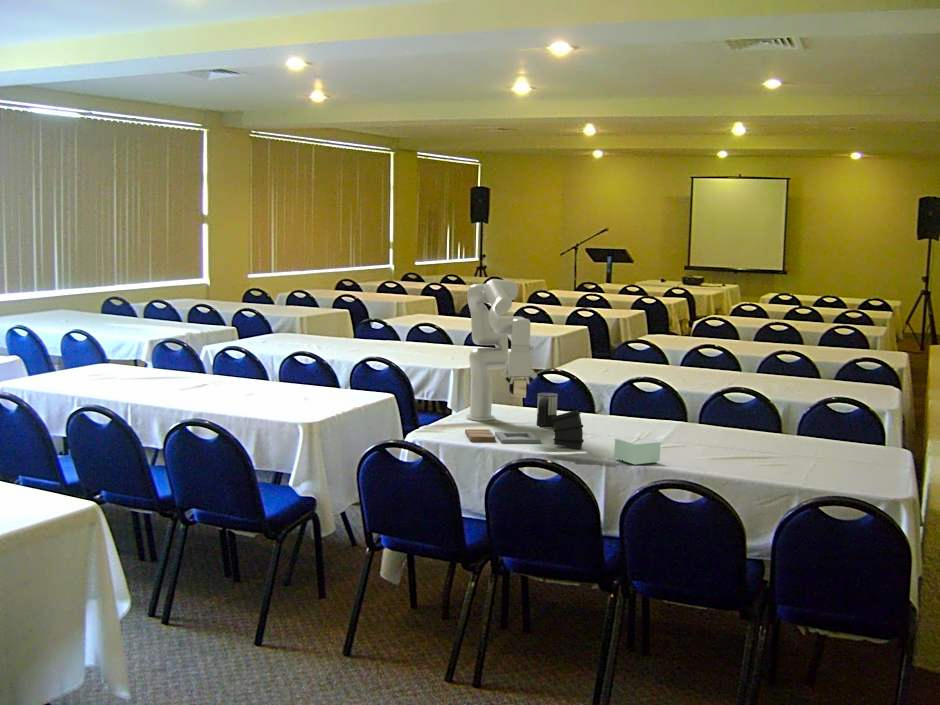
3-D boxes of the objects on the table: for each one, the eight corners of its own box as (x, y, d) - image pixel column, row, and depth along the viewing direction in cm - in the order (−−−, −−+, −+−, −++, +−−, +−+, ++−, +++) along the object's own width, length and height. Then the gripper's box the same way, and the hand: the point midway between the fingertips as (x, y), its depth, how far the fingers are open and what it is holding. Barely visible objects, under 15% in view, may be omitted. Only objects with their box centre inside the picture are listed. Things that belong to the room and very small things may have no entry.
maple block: (511, 395, 414) (512, 378, 413) (523, 395, 415) (524, 378, 414) (513, 397, 409) (514, 380, 409) (525, 397, 410) (526, 380, 409)
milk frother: (535, 425, 447) (536, 391, 445) (571, 426, 446) (572, 393, 445) (536, 431, 433) (537, 397, 431) (573, 432, 432) (574, 398, 431)
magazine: (587, 447, 395) (576, 410, 395) (557, 455, 400) (546, 419, 401) (590, 445, 398) (579, 409, 399) (560, 453, 404) (549, 417, 404)
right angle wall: (659, 461, 381) (660, 441, 380) (634, 464, 375) (635, 444, 374) (638, 455, 391) (639, 436, 390) (614, 458, 385) (615, 438, 384)
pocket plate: (494, 435, 421) (494, 431, 421) (532, 435, 423) (532, 431, 423) (501, 443, 405) (501, 439, 405) (540, 443, 407) (540, 439, 407)
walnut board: (465, 434, 422) (465, 429, 422) (488, 434, 423) (488, 429, 423) (470, 441, 406) (470, 436, 406) (495, 441, 408) (495, 436, 407)
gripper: (538, 348, 415) (537, 392, 417) (497, 347, 412) (496, 391, 415) (542, 350, 408) (541, 395, 410) (501, 349, 405) (499, 394, 407)
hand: (518, 393), depth 412 cm, fingers closed on maple block, 5 cm apart
